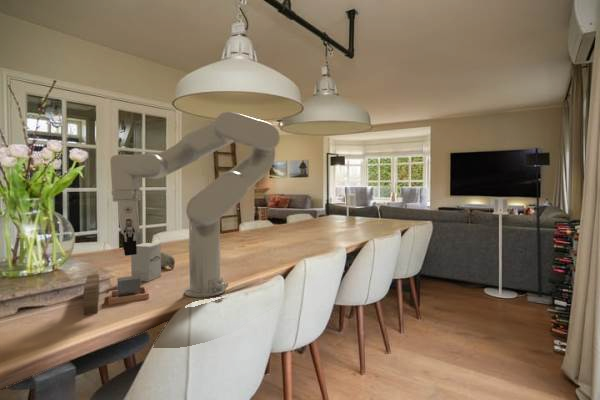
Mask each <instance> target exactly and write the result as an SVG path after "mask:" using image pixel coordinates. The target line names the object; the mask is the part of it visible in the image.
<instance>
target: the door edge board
mask: <svg viewBox="0 0 600 400" xmlns="http://www.w3.org/2000/svg"><path fill="white" fill-rule="evenodd" d="M85 280H86V281H85V284H84V289H83V293H82V295H83V315H84V316H88V315H93V314H98V311H99V310H98V308H99V298H100V276H99V273H95V274H92V273H91V274H87V276H86V279H85Z"/></svg>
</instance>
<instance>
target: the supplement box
mask: <svg viewBox="0 0 600 400" xmlns="http://www.w3.org/2000/svg"><path fill="white" fill-rule="evenodd" d="M136 246H137V254H136V255H130V257H131V258H130V259H131V261H130V262H131V265H130V266H131V276H137V275H139V277H140V282H151V281H153V280H155V279H157V278H160V277H161V276H162V267H161V252H162V251H161V243H160V242H159V243H158V242H144V243H140V244H136Z"/></svg>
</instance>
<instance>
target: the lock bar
mask: <svg viewBox="0 0 600 400" xmlns="http://www.w3.org/2000/svg"><path fill="white" fill-rule="evenodd" d="M116 283H117V290H118V295H117V297H123V296H130V295H137V294H142V292H140V287H141V281H140V277H139V275H137V276H132V275H131V276H130V275H129V276H124V277H117V281H116Z"/></svg>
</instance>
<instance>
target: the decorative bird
mask: <svg viewBox="0 0 600 400" xmlns="http://www.w3.org/2000/svg"><path fill="white" fill-rule="evenodd" d="M175 261H176V260H175V258H174V256H173V255H171V254H169V253H165V252H163V251H161V268H166V267H169V268H170V269H171V270H174V268H175V263H176V262H175Z"/></svg>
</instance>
